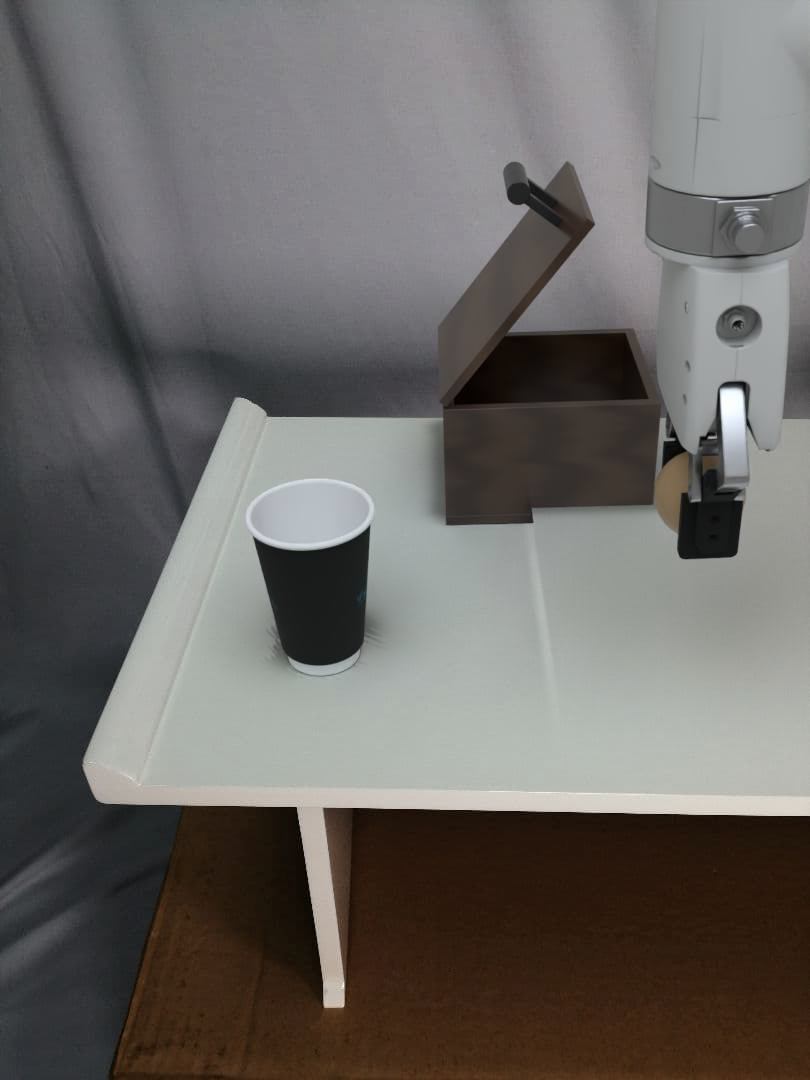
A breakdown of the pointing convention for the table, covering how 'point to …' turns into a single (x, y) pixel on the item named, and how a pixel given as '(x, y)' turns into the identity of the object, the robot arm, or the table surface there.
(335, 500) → the dixie cup
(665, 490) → the tan ball
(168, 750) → the table surface
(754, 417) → the robot arm
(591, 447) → the box
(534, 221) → the box lid
